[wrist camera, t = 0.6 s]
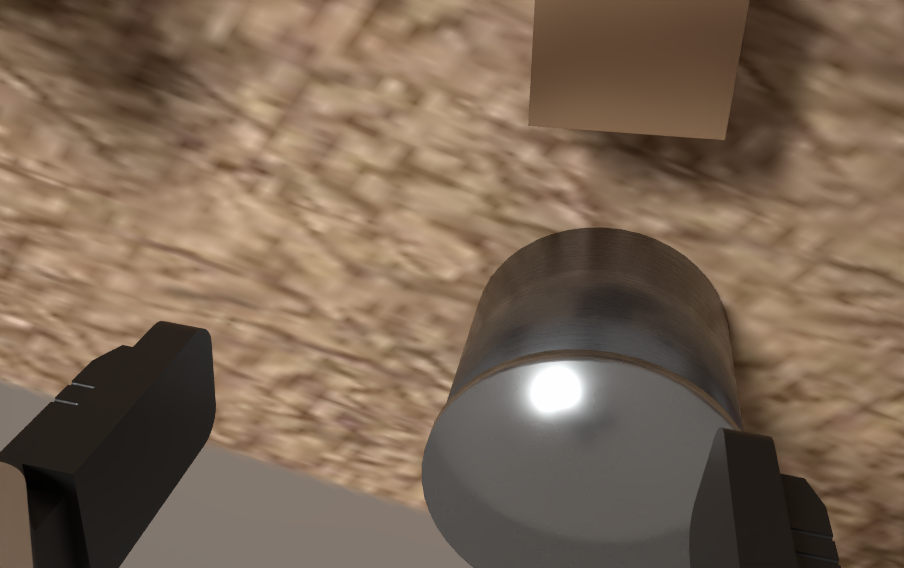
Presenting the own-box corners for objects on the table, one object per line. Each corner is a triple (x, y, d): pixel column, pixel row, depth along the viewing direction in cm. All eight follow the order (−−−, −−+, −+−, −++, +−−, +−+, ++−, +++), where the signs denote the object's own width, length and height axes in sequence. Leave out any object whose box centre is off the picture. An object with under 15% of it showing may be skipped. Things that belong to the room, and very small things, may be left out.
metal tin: (606, 168, 31) (592, 296, 23) (791, 352, 33) (834, 524, 25) (419, 326, 36) (358, 474, 28) (591, 477, 38) (577, 651, 30)
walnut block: (557, -104, 27) (539, -79, 22) (741, -99, 26) (762, -72, 21) (546, 71, 29) (528, 125, 25) (711, 81, 29) (725, 139, 24)
